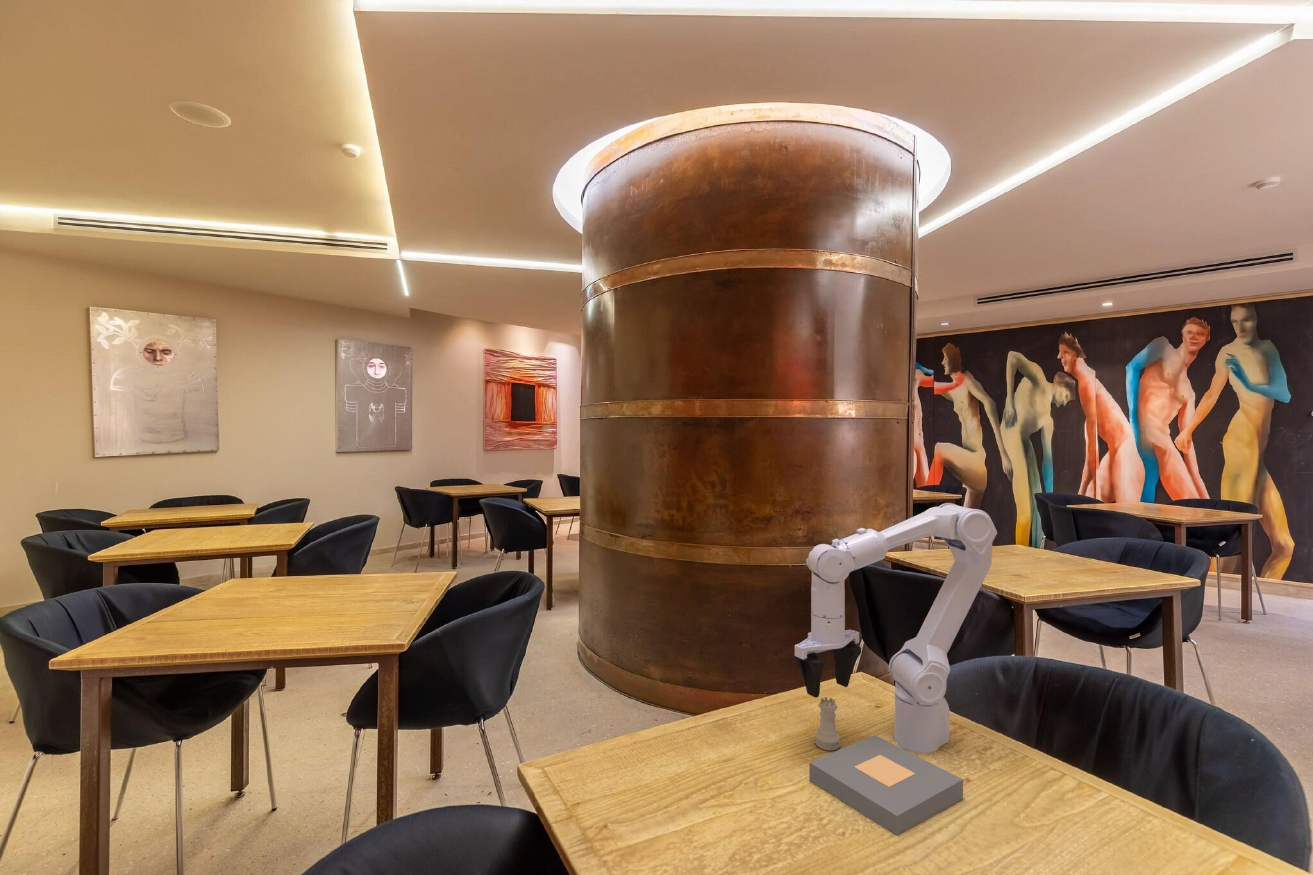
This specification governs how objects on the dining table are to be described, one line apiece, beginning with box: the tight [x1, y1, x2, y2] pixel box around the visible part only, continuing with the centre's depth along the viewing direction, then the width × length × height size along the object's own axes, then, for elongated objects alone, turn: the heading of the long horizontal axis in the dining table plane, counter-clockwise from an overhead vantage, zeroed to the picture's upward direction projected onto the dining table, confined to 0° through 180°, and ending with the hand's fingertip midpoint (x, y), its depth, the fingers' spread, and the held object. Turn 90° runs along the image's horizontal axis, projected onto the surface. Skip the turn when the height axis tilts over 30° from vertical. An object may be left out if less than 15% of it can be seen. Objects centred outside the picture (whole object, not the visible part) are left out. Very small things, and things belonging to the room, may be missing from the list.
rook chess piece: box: [814, 697, 842, 752], centre depth 108 cm, size 4×4×8 cm
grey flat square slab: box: [808, 734, 964, 836], centre depth 95 cm, size 16×16×3 cm
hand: (827, 689), depth 108 cm, fingers open, 7 cm apart
